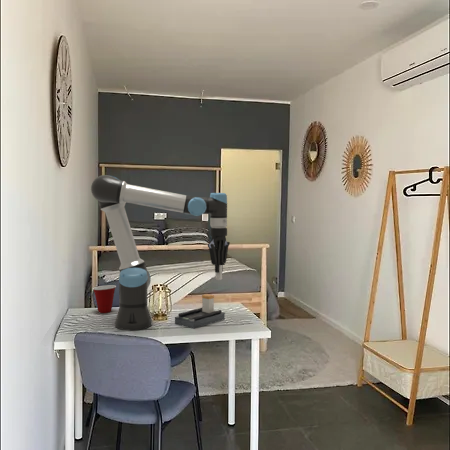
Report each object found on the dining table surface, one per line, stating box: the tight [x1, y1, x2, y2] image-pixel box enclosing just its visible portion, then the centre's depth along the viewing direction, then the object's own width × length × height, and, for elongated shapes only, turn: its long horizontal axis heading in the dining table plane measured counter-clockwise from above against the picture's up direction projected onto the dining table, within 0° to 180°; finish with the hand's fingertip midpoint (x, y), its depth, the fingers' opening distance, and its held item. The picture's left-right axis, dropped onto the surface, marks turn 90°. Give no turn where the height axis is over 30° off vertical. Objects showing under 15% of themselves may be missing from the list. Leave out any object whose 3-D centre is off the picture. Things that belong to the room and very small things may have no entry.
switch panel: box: [174, 307, 226, 329], centre depth 215 cm, size 20×11×4 cm, turn 141°
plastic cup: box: [92, 284, 117, 314], centre depth 232 cm, size 11×11×12 cm
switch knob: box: [201, 293, 215, 313], centre depth 219 cm, size 3×4×7 cm
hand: (218, 279), depth 223 cm, fingers closed
